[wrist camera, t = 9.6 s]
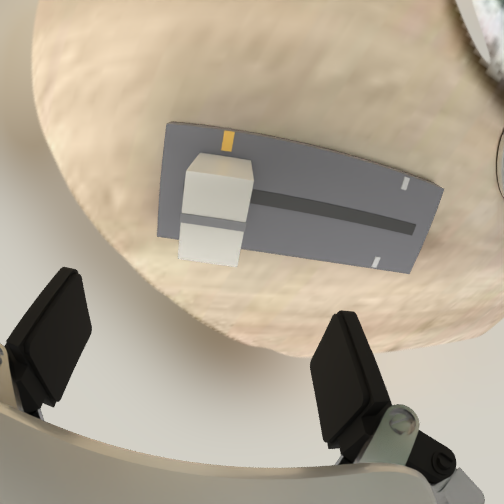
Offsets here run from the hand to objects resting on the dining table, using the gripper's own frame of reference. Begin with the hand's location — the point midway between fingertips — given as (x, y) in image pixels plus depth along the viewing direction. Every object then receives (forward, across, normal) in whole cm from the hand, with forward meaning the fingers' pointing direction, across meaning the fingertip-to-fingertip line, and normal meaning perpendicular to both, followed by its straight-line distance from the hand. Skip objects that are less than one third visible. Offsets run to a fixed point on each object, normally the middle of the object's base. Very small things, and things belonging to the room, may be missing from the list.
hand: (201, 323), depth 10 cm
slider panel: (+17, -7, 0) cm, 19 cm away
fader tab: (+15, +1, 0) cm, 15 cm away
